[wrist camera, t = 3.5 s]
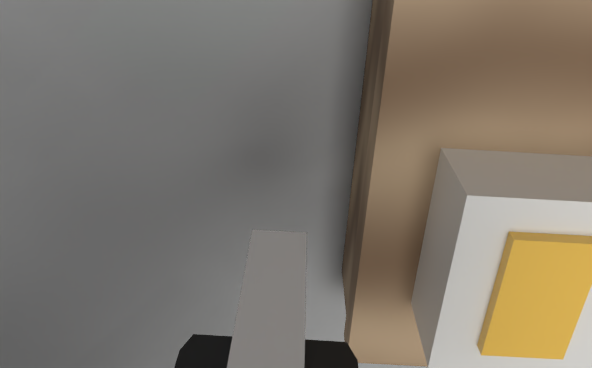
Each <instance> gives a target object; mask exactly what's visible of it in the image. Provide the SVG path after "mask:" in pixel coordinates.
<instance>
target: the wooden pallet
mask: <svg viewBox="0 0 592 368" xmlns="http://www.w3.org/2000/svg"><path fill="white" fill-rule="evenodd" d="M441 148H451V149H469V150H487V151H505V152H523V153H540V154H558V155H576V156H592V0H373V2H372V11H371V20H370V29H369V37H368V46H367V55H366V64H365V72H364V81H363V90H362V98H361V107H360V116H359V125H358V133H357V142H356V151H355V160H354V168H353V177H352V186H351V195H350V203H349V212H348V221H347V229H346V238H345V247H344V256H343V264H342V275H343V286H344V296H345V306H346V322H345V330H344V340H345V342H347V343H348V345H349V347H350V348H351V350H352V352H353V353H354V355H355V357H356V358H357V360H358V363H371V364H391V365H410V366H427V362H426V358H425V355H424V351H423V347H422V343H421V339H420V336H419V332H418V328H417V324H416V320H415V317H414V313H413V309H412V305H411V300H412V295H413V290H414V285H415V280H416V274H417V269H418V264H419V259H420V254H421V249H422V244H423V238H424V233H425V228H426V223H427V218H428V213H429V207H430V202H431V197H432V192H433V187H434V182H435V177H436V171H437V166H438V161H439V156H440V151H441Z"/></svg>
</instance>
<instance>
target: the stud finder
mask: <svg viewBox="0 0 592 368" xmlns="http://www.w3.org/2000/svg"><path fill="white" fill-rule="evenodd" d="M411 305H412V309H413V313H414V317H415V320H416V324H417V328H418V332H419V336H420V339H421V343H422V347H423V351H424V355H425V358H426V362H427V366H428V368H592V156H576V155H558V154H540V153H523V152H505V151H487V150H469V149H451V148H441V151H440V156H439V161H438V166H437V171H436V177H435V182H434V187H433V192H432V197H431V202H430V207H429V213H428V218H427V223H426V228H425V233H424V238H423V244H422V249H421V254H420V259H419V264H418V269H417V274H416V280H415V285H414V290H413V295H412V300H411Z"/></svg>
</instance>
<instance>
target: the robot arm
mask: <svg viewBox="0 0 592 368" xmlns="http://www.w3.org/2000/svg"><path fill="white" fill-rule="evenodd" d="M306 253H307V233H304V232H288V231H271V230H255V229H252V234H251V239H250V244H249V250H248V255H247V261H246V266H245V272H244V277H243V282H242V288H241V293H240V299H239V304H238V309H237V315H236V320H235V326H234V331H233V337H230V336H213V335H197V334H193V336H192V337H191V338H190V339H189V340H188V341H187V342H186V344H185V345H184V346H183V347H182V348H181V349H180V351H179V354H178V357H177V361H176V364H175V368H358V360H357V358H356V357H355V355H354V353H353V352H352V350H351V348H350V347H349V345H348V343H347V342H335V341H318V340H305V309H306Z"/></svg>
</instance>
